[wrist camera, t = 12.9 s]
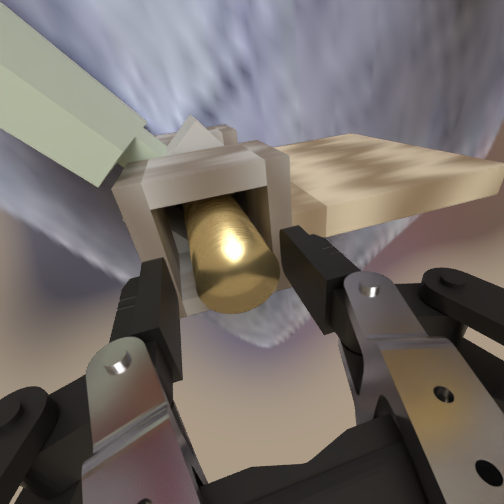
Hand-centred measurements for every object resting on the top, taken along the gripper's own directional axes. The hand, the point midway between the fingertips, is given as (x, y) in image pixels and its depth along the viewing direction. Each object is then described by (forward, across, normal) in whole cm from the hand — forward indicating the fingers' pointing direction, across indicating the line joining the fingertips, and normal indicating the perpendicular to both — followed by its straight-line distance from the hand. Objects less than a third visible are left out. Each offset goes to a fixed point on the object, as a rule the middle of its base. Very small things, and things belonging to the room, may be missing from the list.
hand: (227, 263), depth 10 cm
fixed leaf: (+15, -6, 0) cm, 16 cm away
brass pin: (+16, 0, 0) cm, 16 cm away
